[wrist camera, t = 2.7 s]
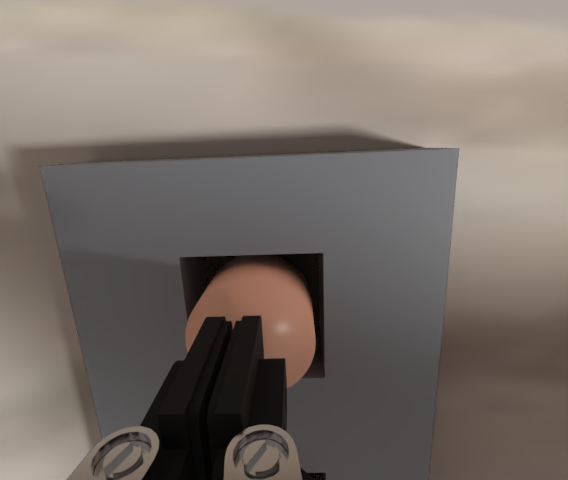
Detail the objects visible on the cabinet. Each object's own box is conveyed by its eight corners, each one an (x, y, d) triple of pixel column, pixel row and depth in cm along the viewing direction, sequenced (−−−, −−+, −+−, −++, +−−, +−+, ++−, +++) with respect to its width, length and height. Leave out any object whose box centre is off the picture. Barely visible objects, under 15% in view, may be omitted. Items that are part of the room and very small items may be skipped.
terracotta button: (310, 251, 14) (314, 280, 11) (312, 347, 15) (317, 396, 12) (202, 254, 14) (177, 283, 11) (212, 349, 15) (193, 398, 12)
